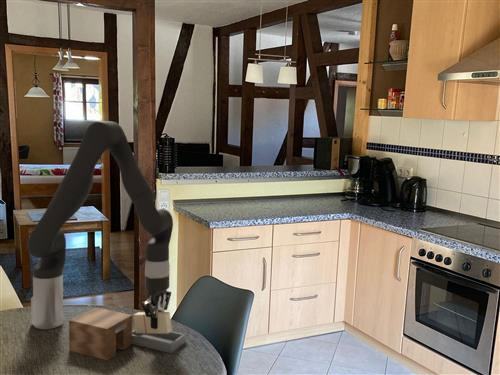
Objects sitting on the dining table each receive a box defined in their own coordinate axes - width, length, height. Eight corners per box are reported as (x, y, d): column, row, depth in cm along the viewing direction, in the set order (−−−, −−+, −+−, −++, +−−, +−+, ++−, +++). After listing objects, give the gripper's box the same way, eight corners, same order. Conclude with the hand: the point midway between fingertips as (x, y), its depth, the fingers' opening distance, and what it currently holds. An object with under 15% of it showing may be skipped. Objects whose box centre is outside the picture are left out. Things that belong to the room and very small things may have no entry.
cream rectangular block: (135, 333, 156) (133, 314, 156) (140, 330, 158) (138, 312, 158) (167, 333, 151) (165, 314, 151) (172, 330, 154) (169, 311, 154)
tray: (126, 342, 154) (126, 334, 154) (142, 332, 162) (142, 324, 162) (171, 353, 148) (171, 344, 148) (185, 342, 156) (185, 334, 155)
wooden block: (69, 350, 147) (69, 320, 146) (95, 335, 158) (95, 307, 157) (108, 360, 142) (108, 329, 141) (133, 344, 153) (133, 315, 152)
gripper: (159, 266, 160) (158, 317, 162) (134, 277, 147) (133, 332, 149) (179, 269, 157) (178, 321, 159) (155, 281, 145) (154, 337, 146)
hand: (156, 326), depth 154 cm, fingers closed on cream rectangular block, 2 cm apart
